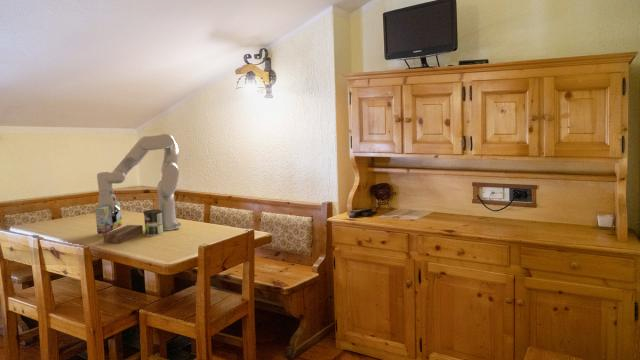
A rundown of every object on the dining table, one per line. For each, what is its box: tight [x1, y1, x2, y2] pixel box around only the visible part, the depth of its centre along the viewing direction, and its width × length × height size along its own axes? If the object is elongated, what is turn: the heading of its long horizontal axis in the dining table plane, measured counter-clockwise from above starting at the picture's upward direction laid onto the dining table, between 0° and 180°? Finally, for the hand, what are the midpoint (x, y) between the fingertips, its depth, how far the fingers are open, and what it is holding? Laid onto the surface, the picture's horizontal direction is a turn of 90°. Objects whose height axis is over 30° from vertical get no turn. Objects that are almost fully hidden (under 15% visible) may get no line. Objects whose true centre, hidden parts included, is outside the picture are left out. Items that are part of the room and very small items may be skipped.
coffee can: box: [143, 209, 164, 237], centre depth 275 cm, size 10×10×14 cm
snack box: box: [94, 201, 123, 235], centre depth 273 cm, size 21×6×15 cm, turn 179°
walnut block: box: [102, 224, 144, 245], centre depth 266 cm, size 10×24×5 cm, turn 171°
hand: (109, 222), depth 273 cm, fingers closed on snack box, 6 cm apart
